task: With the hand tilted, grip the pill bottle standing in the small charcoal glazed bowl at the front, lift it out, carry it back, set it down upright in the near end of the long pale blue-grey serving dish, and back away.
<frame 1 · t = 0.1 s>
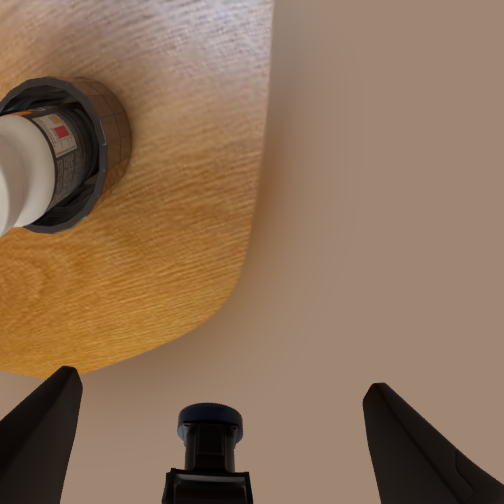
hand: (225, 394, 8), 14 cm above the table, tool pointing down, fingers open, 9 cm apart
charcoal bowl: (71, 143, 18), on the table
pill bottle: (70, 144, 18), resting on charcoal bowl
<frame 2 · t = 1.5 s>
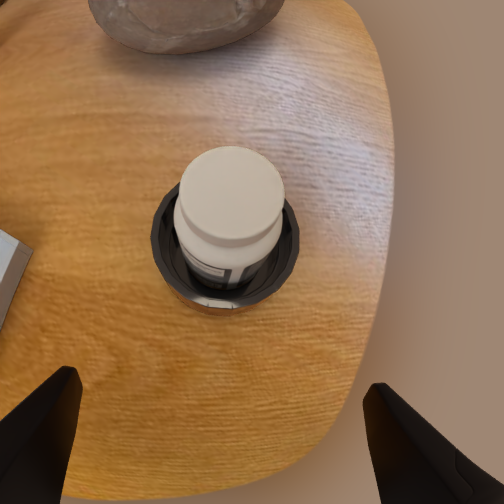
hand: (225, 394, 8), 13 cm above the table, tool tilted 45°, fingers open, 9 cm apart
charcoal bowl: (222, 254, 23), on the table
clay pot: (187, 32, 31), on the table
pill bottle: (222, 253, 23), resting on charcoal bowl
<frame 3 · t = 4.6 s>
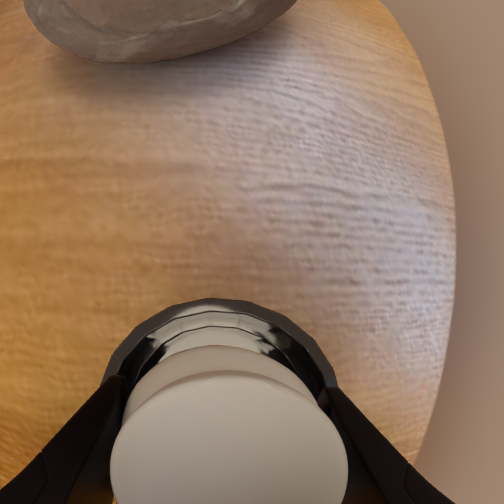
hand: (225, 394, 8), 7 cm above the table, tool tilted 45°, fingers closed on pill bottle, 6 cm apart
charcoal bowl: (217, 401, 14), on the table
clay pot: (168, 29, 22), on the table
pill bottle: (217, 402, 14), resting on charcoal bowl, touching gripper
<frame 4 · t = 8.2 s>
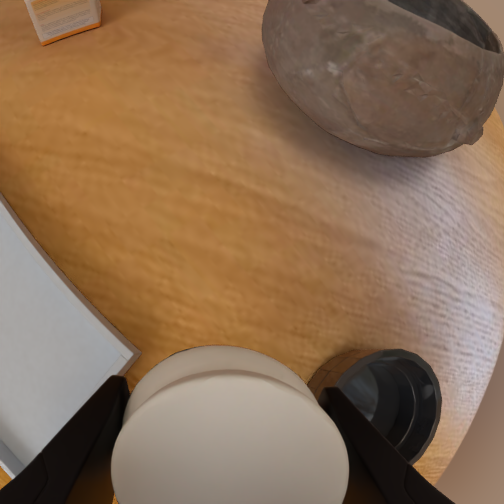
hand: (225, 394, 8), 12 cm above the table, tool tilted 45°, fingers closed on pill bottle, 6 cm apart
charcoal bowl: (356, 409, 20), on the table
clay pot: (354, 102, 29), on the table
pill bottle: (217, 401, 14), point 6 cm above the table, touching gripper
supplement box: (72, 29, 28), on the table
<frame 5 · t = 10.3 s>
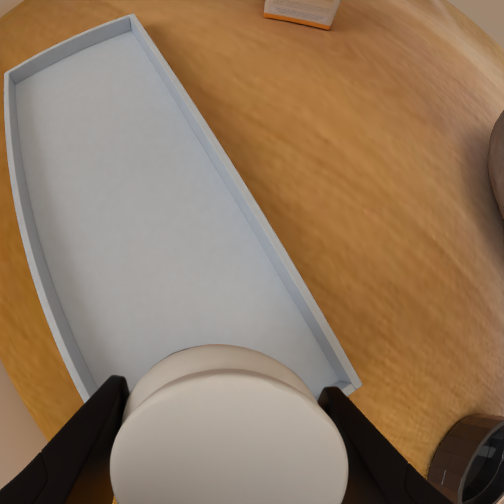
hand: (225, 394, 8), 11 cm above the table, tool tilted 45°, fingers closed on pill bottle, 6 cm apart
charcoal bowl: (462, 459, 19), on the table
serving dish: (118, 190, 22), on the table
pill bottle: (217, 401, 14), point 5 cm above the table, touching gripper
supplement box: (295, 16, 31), on the table
when the fingers open (7 cm above the table, at t = 12.1 s): pill bottle stays where it is, resting on serving dish.
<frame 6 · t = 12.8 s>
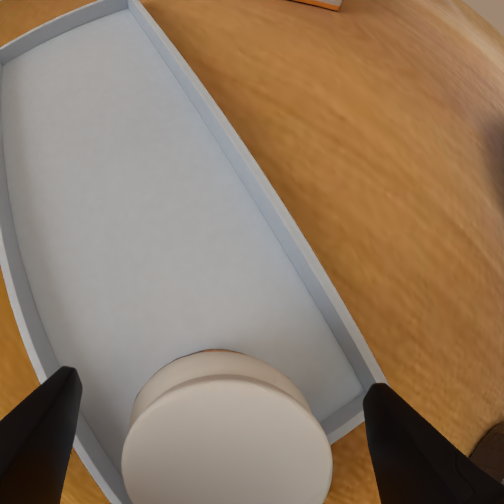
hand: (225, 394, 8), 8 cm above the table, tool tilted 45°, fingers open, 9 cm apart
charcoal bowl: (490, 471, 15), on the table
serving dish: (104, 168, 18), on the table
pill bottle: (217, 402, 15), resting on serving dish
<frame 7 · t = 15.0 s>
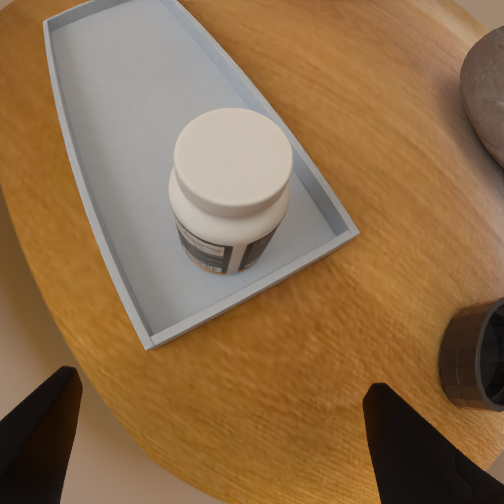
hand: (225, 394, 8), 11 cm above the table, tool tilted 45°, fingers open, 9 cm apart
charcoal bowl: (473, 357, 21), on the table
serving dish: (144, 93, 24), on the table
clay pot: (497, 143, 30), on the table
pill bottle: (222, 236, 21), resting on serving dish
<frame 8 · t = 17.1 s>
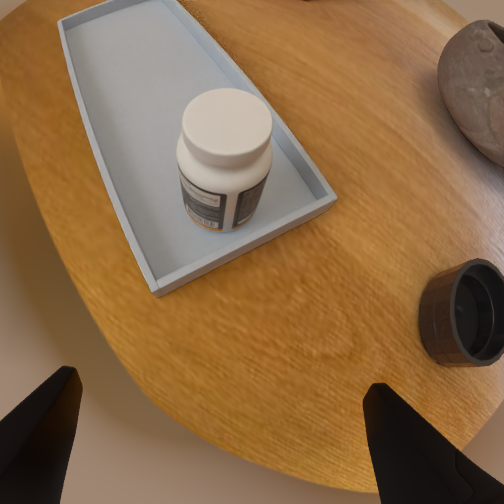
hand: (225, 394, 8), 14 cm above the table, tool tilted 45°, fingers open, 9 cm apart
charcoal bowl: (452, 318, 25), on the table
serving dish: (152, 85, 28), on the table
clay pot: (476, 130, 34), on the table
pill bottle: (219, 202, 25), resting on serving dish
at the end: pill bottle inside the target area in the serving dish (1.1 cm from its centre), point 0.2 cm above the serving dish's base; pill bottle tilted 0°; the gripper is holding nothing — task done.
